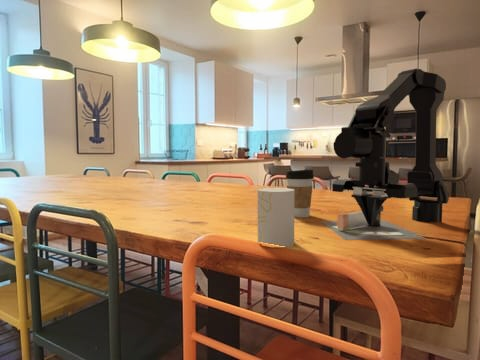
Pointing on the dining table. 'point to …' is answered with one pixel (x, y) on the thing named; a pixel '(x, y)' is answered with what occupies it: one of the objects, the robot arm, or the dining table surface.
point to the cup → (276, 216)
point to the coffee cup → (301, 190)
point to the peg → (356, 220)
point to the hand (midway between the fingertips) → (370, 224)
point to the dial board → (373, 232)
